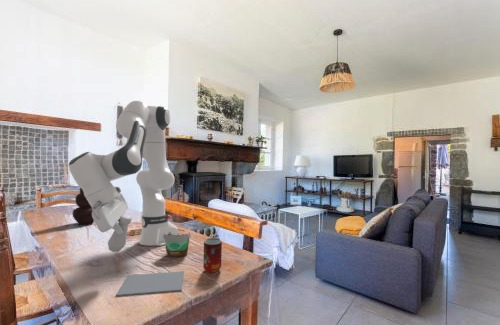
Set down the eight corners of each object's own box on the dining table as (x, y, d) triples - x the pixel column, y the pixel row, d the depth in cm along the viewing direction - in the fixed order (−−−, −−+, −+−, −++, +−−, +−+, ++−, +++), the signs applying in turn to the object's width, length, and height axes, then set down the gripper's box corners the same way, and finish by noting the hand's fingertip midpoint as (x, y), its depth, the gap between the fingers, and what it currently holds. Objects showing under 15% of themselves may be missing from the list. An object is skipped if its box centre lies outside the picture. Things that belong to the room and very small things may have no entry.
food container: (162, 260, 107) (162, 237, 107) (163, 254, 113) (163, 233, 113) (191, 257, 110) (191, 235, 110) (190, 252, 116) (191, 231, 116)
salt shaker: (119, 243, 93) (130, 212, 92) (126, 252, 90) (137, 219, 89) (103, 245, 89) (114, 212, 88) (109, 254, 85) (121, 220, 84)
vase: (103, 223, 168) (104, 179, 168) (78, 227, 155) (79, 180, 155) (92, 220, 176) (93, 178, 176) (67, 224, 163) (68, 179, 163)
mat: (115, 296, 77) (115, 294, 77) (127, 276, 91) (127, 275, 91) (181, 290, 81) (181, 289, 81) (183, 272, 95) (183, 271, 95)
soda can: (199, 270, 97) (200, 239, 98) (214, 265, 102) (215, 236, 102) (209, 276, 92) (210, 243, 92) (224, 271, 97) (225, 240, 97)
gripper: (100, 203, 76) (123, 239, 79) (120, 186, 95) (138, 215, 99) (80, 212, 75) (104, 248, 78) (105, 193, 95) (123, 223, 98)
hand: (123, 230), depth 89 cm, fingers closed on salt shaker, 3 cm apart
